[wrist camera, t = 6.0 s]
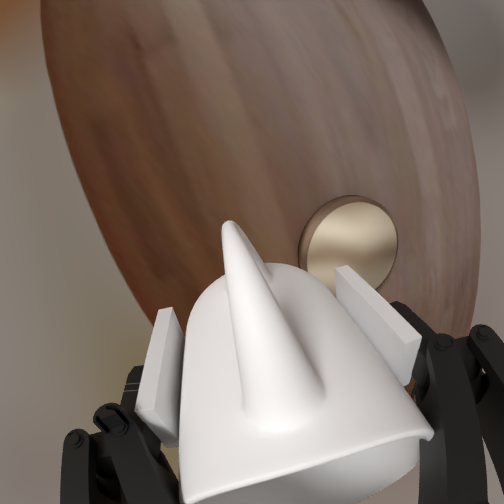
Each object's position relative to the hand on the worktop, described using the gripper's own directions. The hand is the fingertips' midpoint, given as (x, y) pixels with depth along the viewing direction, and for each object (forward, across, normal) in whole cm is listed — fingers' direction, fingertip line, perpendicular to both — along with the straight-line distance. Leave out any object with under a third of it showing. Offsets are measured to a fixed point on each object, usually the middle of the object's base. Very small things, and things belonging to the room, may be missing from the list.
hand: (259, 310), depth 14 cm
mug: (+1, 0, 0) cm, 1 cm away
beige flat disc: (+16, +13, -5) cm, 21 cm away
